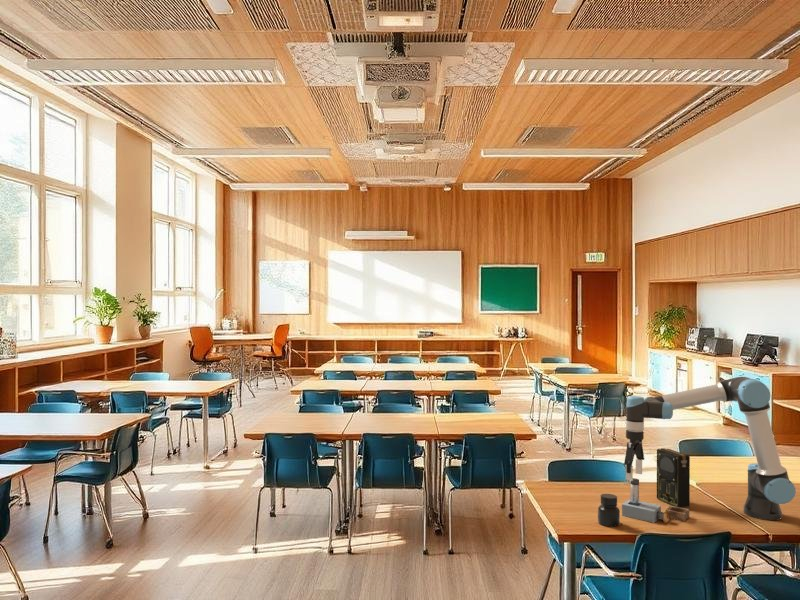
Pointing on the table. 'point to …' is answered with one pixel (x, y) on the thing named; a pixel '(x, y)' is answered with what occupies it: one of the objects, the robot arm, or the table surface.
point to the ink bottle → (609, 511)
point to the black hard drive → (673, 477)
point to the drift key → (663, 516)
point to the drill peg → (634, 492)
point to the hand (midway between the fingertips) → (634, 476)
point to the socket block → (641, 511)
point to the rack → (678, 513)
